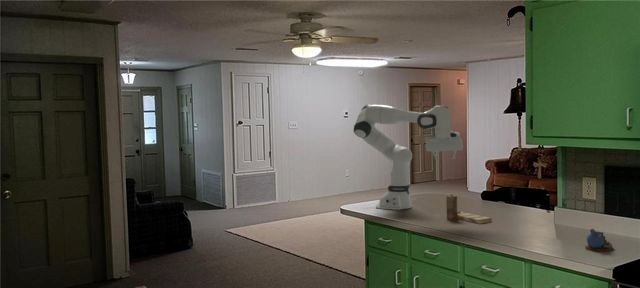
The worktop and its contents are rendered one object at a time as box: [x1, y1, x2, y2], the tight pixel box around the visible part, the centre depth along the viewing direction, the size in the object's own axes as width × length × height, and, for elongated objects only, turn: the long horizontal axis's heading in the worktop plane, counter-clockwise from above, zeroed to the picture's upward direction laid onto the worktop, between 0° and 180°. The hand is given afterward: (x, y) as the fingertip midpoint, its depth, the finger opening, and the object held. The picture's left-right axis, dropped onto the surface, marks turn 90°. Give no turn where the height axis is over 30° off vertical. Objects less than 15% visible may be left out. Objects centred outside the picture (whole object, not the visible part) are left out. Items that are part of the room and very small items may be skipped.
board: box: [457, 211, 493, 225], centre depth 293 cm, size 24×9×2 cm, turn 29°
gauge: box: [445, 193, 462, 221], centre depth 295 cm, size 8×4×14 cm, turn 119°
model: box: [584, 228, 615, 253], centre depth 225 cm, size 12×9×9 cm
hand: (444, 158), depth 296 cm, fingers open, 8 cm apart
